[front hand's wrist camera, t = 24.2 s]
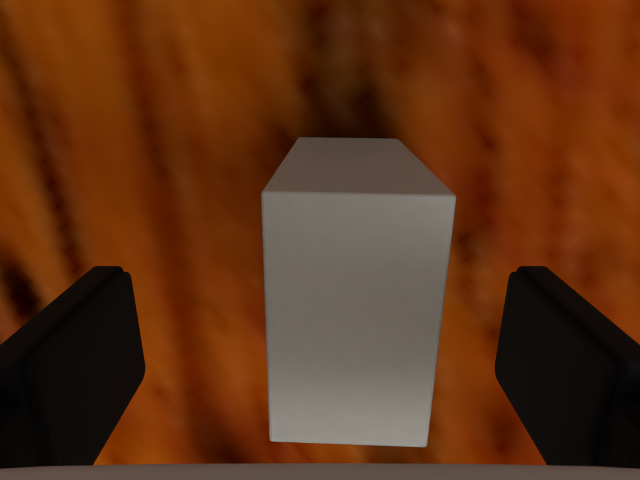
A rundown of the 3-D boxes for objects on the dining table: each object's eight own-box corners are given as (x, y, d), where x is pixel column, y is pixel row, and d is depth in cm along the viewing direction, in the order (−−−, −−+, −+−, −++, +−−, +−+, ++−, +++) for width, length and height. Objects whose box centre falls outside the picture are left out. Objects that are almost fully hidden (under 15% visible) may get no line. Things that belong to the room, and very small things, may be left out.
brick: (298, 285, 21) (268, 442, 12) (298, 136, 19) (260, 191, 10) (388, 287, 21) (427, 448, 12) (398, 138, 19) (457, 195, 10)
